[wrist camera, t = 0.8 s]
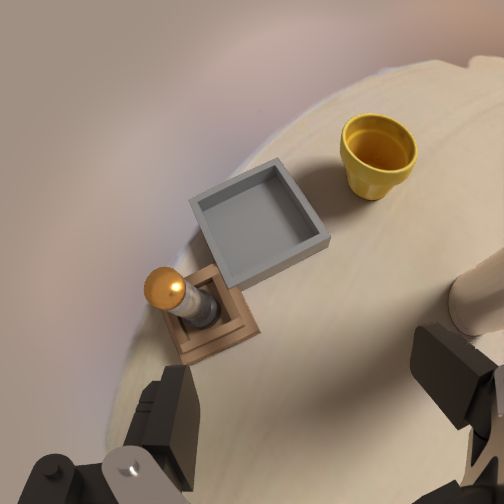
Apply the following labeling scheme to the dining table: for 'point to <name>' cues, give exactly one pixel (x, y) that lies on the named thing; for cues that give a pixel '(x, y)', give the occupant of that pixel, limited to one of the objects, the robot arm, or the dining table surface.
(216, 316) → the gold-capped glass canister
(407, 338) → the dining table surface
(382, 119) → the plant pot
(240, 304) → the brown square open box
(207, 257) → the dining table surface
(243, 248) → the tray
